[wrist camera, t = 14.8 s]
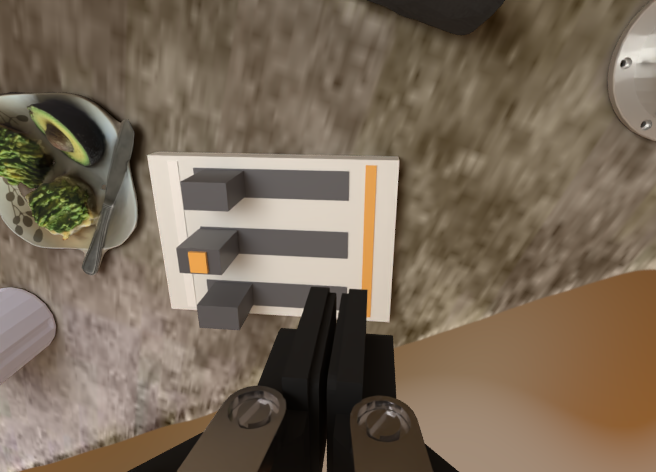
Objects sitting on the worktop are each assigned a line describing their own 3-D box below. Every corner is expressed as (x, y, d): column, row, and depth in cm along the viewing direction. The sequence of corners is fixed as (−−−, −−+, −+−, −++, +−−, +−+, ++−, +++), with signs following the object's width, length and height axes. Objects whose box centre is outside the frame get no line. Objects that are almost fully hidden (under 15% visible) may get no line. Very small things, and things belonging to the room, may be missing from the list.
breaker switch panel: (398, 156, 39) (402, 172, 32) (388, 312, 45) (390, 351, 38) (157, 151, 41) (116, 165, 35) (179, 299, 47) (148, 334, 41)
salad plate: (167, 271, 47) (145, 291, 42) (24, 264, 49) (-10, 282, 44) (137, 91, 40) (108, 93, 35) (-28, 91, 42) (-75, 93, 37)
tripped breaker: (237, 230, 41) (218, 251, 36) (239, 253, 42) (220, 276, 37) (198, 228, 41) (174, 249, 36) (201, 251, 42) (178, 274, 37)
